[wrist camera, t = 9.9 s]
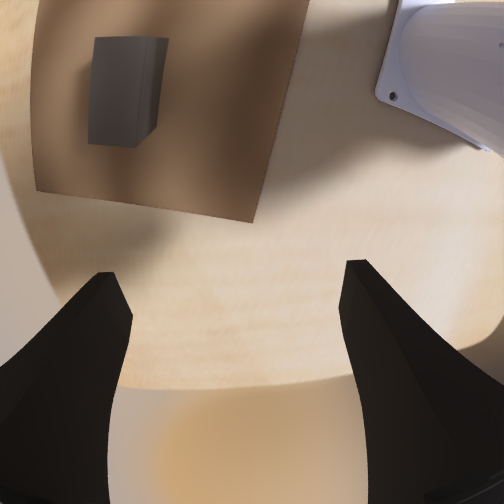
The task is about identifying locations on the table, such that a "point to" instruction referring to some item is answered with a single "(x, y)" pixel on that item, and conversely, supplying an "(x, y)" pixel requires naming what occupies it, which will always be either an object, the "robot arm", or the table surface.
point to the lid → (161, 99)
